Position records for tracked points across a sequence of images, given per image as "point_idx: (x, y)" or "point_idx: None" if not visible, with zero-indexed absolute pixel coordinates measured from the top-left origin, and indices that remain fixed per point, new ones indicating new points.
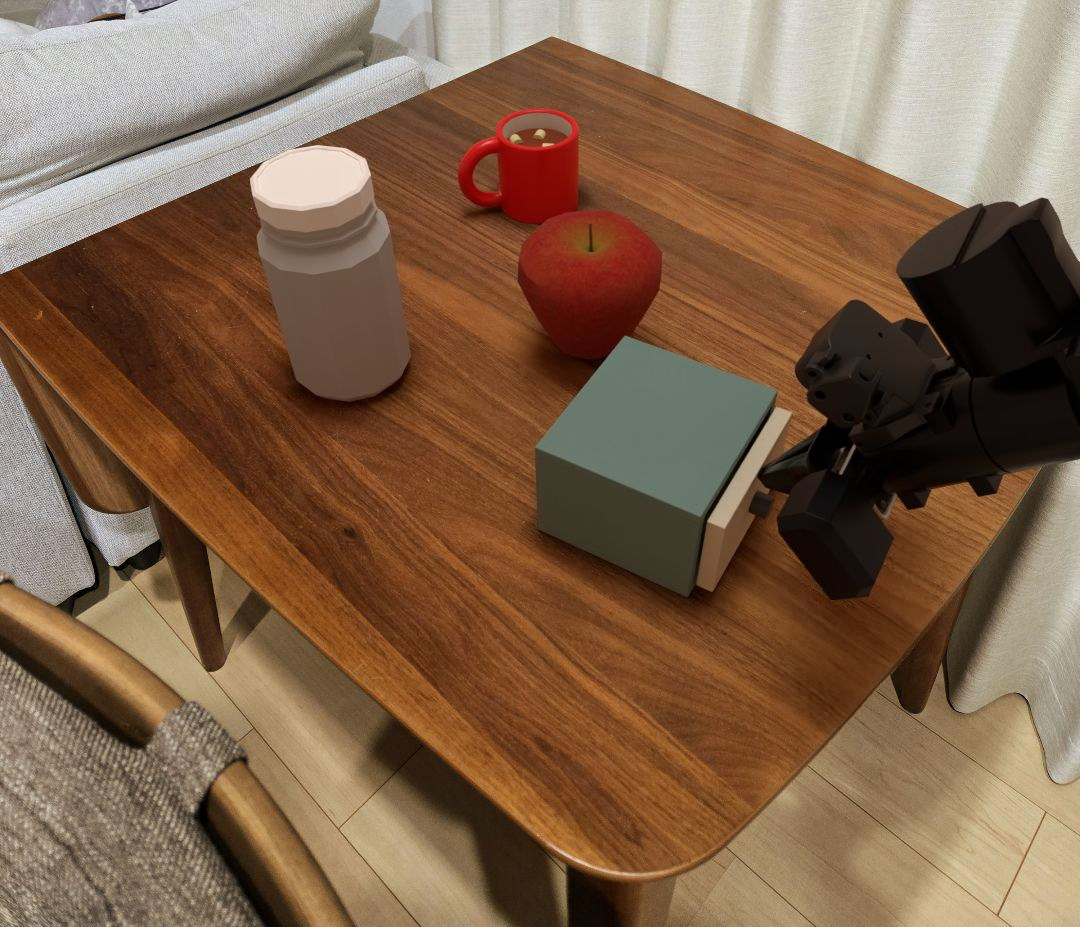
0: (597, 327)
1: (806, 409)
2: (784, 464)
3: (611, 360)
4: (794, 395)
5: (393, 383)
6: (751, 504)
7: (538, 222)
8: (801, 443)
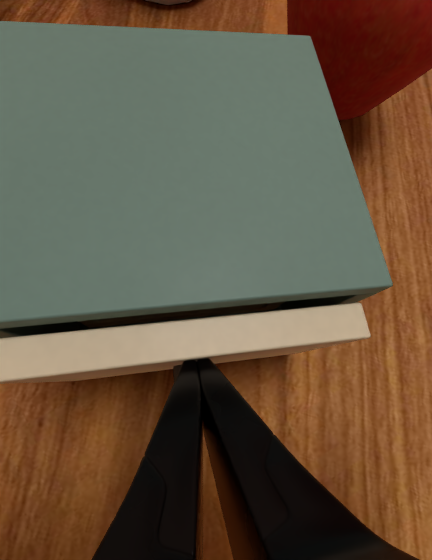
0: (316, 40)
1: (418, 326)
2: (176, 429)
3: (249, 39)
4: (425, 303)
5: (165, 3)
6: (175, 367)
7: None
8: (259, 441)
